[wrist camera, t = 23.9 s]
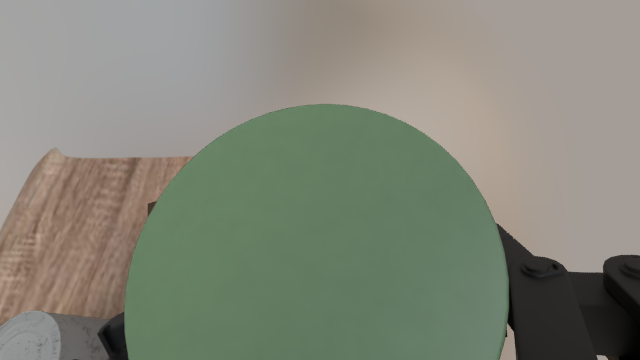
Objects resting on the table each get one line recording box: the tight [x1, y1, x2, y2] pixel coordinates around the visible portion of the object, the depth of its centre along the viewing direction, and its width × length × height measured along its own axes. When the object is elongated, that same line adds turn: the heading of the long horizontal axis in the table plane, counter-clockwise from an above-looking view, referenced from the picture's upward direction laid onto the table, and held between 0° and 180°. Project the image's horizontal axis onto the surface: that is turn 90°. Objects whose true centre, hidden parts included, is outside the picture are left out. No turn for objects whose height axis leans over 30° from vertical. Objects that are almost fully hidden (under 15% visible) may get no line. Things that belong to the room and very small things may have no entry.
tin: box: [124, 104, 509, 360], centre depth 12 cm, size 8×8×12 cm
